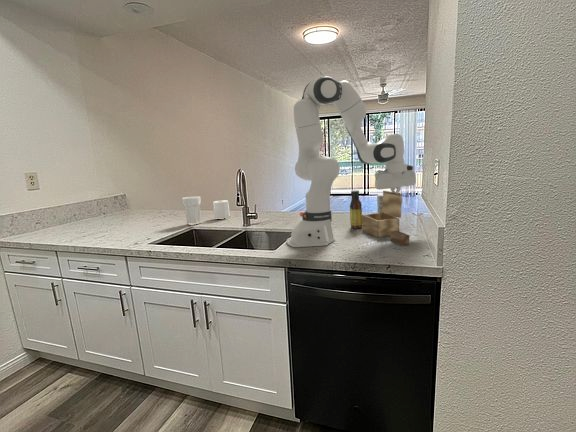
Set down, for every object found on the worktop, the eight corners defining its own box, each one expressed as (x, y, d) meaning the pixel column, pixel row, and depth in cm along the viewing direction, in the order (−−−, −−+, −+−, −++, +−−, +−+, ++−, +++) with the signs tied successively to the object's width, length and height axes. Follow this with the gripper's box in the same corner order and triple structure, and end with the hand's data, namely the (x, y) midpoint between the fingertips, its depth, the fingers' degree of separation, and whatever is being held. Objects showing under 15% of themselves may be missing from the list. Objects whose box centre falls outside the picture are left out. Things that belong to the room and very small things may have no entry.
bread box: (377, 237, 153) (377, 220, 151) (362, 229, 169) (362, 214, 167) (399, 234, 155) (399, 218, 153) (382, 227, 171) (382, 212, 169)
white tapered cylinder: (214, 218, 228) (212, 200, 226) (229, 216, 230) (227, 199, 228) (214, 220, 218) (212, 202, 216) (230, 219, 221) (228, 201, 218)
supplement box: (396, 227, 170) (396, 195, 167) (378, 227, 171) (378, 195, 168) (394, 223, 179) (394, 192, 176) (377, 223, 181) (376, 193, 178)
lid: (400, 194, 151) (402, 194, 152) (383, 190, 167) (384, 190, 168) (399, 217, 153) (401, 217, 154) (382, 212, 169) (383, 212, 170)
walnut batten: (402, 246, 137) (403, 236, 137) (390, 240, 147) (390, 231, 146) (409, 245, 138) (409, 235, 137) (396, 240, 148) (396, 230, 147)
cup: (181, 225, 209) (178, 198, 206) (194, 221, 219) (191, 196, 216) (193, 226, 203) (190, 198, 200) (207, 222, 213) (204, 196, 210)
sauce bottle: (355, 225, 180) (354, 189, 176) (364, 227, 175) (364, 190, 171) (347, 227, 175) (346, 191, 172) (357, 229, 171) (356, 191, 167)
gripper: (378, 170, 153) (379, 199, 155) (417, 166, 156) (418, 194, 159) (371, 170, 159) (373, 198, 161) (410, 165, 162) (410, 193, 165)
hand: (395, 196), depth 160 cm, fingers closed
